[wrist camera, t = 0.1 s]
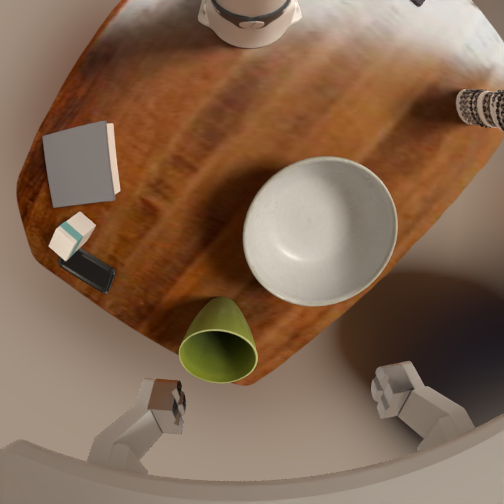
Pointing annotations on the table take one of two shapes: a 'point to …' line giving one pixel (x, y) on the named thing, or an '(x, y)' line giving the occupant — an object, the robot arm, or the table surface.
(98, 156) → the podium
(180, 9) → the table surface
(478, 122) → the decorative candle
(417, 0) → the notebook
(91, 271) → the phone
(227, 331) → the flower pot
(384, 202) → the decorative bowl
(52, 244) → the carton
